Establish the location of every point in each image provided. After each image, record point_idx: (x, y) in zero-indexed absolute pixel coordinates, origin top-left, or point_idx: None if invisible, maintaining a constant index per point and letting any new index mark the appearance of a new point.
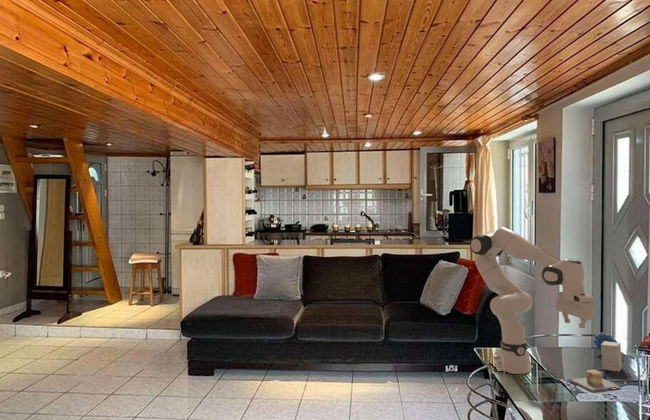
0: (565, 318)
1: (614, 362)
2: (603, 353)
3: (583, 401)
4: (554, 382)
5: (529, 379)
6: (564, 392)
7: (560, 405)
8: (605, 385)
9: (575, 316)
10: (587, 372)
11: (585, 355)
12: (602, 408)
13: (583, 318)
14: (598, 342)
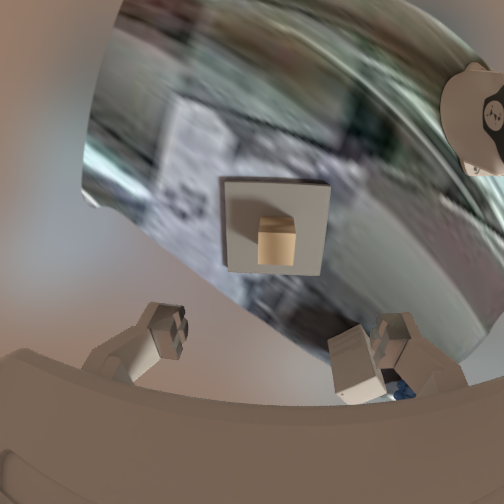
0: (411, 346)
1: (337, 353)
2: (364, 358)
3: (168, 108)
4: (344, 131)
5: (396, 82)
6: (251, 98)
7: (163, 33)
8: (245, 242)
9: (170, 393)
10: (289, 231)
11: (436, 345)
12: (117, 129)
13: (37, 358)
14: None
